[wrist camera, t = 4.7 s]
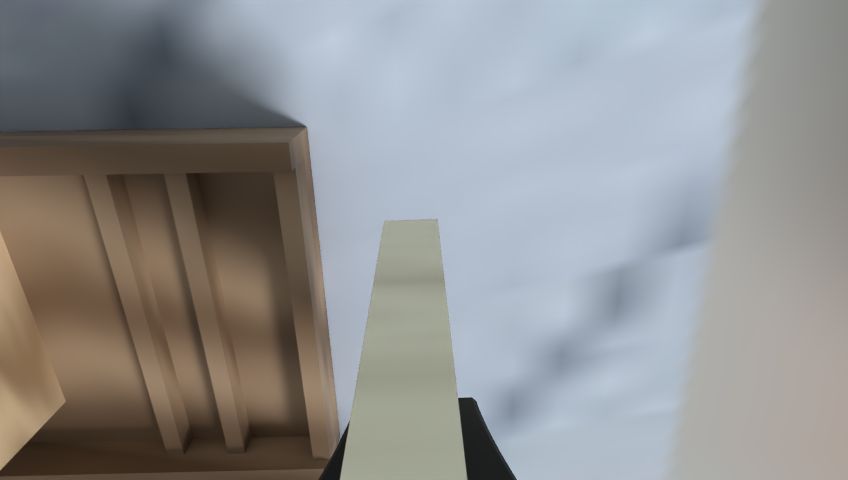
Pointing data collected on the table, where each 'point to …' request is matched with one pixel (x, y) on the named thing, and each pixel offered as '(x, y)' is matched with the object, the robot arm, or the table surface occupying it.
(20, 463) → the walnut rack
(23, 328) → the oak offcuts
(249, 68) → the table surface
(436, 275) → the birch block
